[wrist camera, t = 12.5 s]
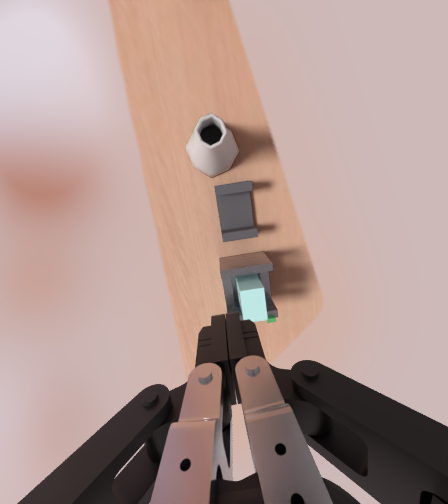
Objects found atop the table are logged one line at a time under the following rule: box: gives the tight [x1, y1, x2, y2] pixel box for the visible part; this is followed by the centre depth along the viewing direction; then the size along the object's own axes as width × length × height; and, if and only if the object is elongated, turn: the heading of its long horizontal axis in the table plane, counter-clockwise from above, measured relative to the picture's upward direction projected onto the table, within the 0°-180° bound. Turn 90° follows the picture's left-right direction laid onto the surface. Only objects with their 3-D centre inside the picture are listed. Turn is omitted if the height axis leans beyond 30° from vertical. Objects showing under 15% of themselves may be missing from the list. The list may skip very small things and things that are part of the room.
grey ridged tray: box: [215, 181, 258, 242], centre depth 33 cm, size 8×5×4 cm, turn 9°
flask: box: [185, 113, 239, 178], centre depth 28 cm, size 7×7×10 cm
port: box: [219, 251, 278, 323], centre depth 34 cm, size 8×7×7 cm
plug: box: [235, 273, 268, 322], centre depth 33 cm, size 4×3×8 cm
